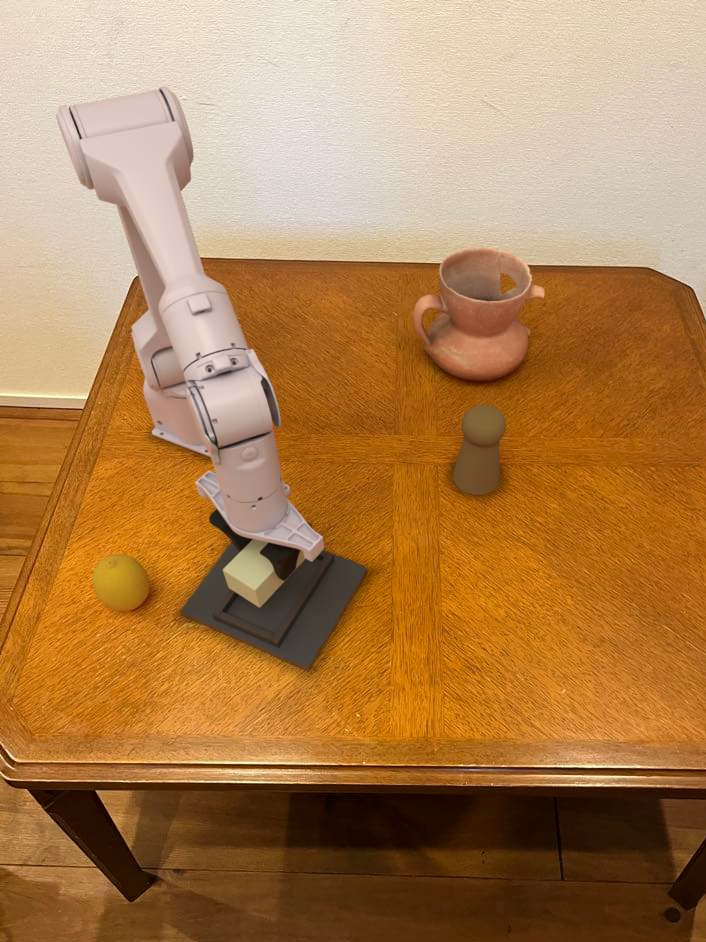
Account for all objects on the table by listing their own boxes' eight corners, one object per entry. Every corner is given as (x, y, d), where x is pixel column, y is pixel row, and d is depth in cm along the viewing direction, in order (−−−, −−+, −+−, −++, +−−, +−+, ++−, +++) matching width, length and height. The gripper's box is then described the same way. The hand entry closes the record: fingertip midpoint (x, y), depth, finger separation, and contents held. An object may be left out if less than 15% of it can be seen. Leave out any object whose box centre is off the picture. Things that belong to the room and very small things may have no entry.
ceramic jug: (520, 322, 113) (535, 237, 101) (543, 387, 104) (563, 302, 93) (404, 331, 111) (405, 245, 99) (418, 397, 103) (421, 312, 91)
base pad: (182, 615, 82) (177, 605, 80) (249, 524, 89) (246, 513, 87) (308, 672, 78) (306, 662, 76) (367, 572, 85) (367, 561, 84)
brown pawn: (496, 499, 92) (508, 437, 83) (449, 490, 93) (455, 429, 84) (502, 463, 96) (514, 401, 87) (456, 456, 96) (463, 393, 87)
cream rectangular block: (228, 587, 78) (222, 569, 75) (282, 531, 82) (279, 512, 80) (259, 608, 77) (255, 590, 74) (313, 550, 81) (311, 531, 78)
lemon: (110, 583, 84) (87, 542, 77) (159, 580, 84) (140, 539, 78) (102, 625, 81) (78, 586, 74) (154, 622, 81) (134, 583, 75)
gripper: (340, 486, 67) (347, 568, 78) (220, 420, 72) (243, 507, 83) (290, 537, 64) (305, 616, 75) (168, 465, 68) (199, 549, 79)
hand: (269, 562), depth 78 cm, fingers closed on cream rectangular block, 4 cm apart
